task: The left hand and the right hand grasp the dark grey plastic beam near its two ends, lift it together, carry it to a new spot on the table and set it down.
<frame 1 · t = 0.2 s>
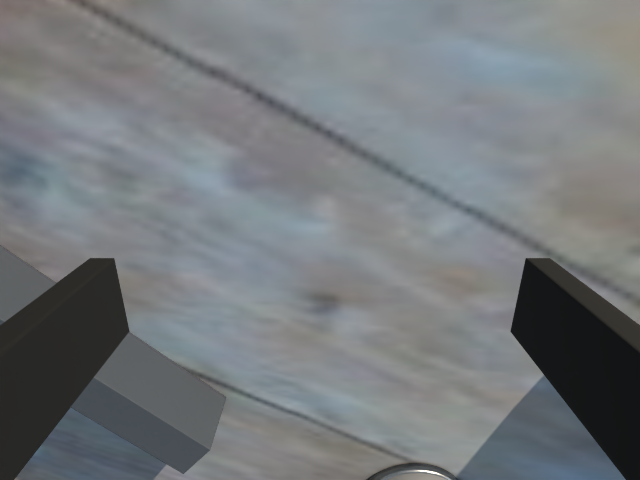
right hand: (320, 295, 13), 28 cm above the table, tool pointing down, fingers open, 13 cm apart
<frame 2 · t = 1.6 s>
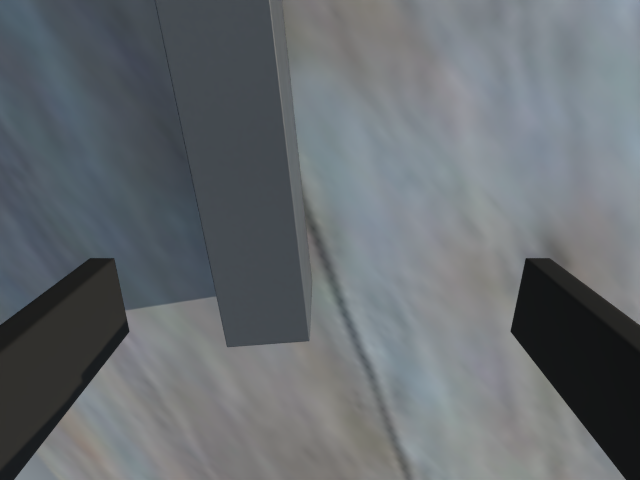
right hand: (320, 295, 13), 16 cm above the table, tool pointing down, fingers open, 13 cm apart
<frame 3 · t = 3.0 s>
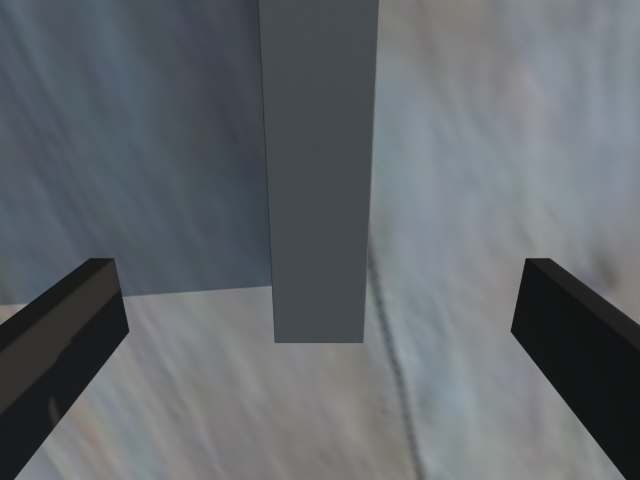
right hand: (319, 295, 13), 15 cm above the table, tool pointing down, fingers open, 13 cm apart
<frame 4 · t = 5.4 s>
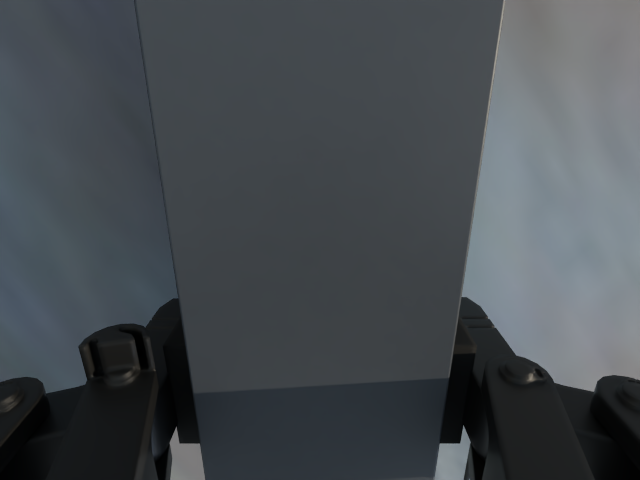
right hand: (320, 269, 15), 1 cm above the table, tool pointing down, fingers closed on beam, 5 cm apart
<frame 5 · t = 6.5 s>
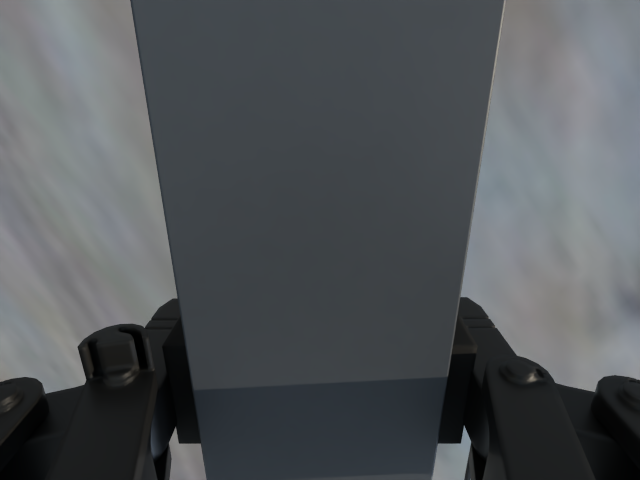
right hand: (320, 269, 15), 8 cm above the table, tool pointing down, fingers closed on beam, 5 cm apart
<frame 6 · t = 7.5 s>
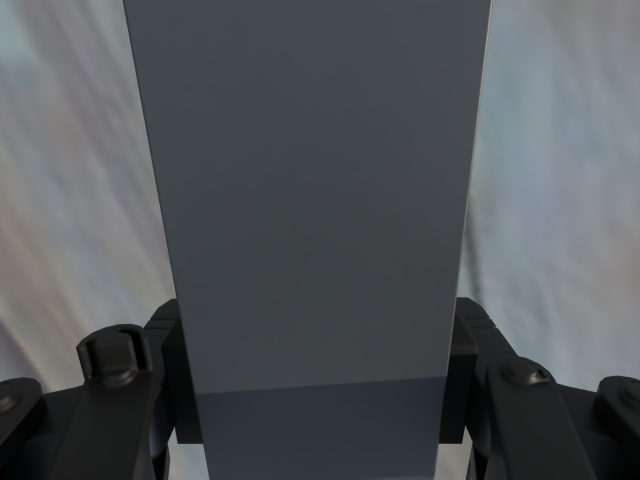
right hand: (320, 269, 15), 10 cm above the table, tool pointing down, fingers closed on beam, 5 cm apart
when the right hand's fingers open (2 cm above the table, at t = 9.8 s): beam drops 1 cm, on the table.
when the left hand's fingers open (4 cm above the table, at t = 10.0 s): beam stays where it is, on the table.
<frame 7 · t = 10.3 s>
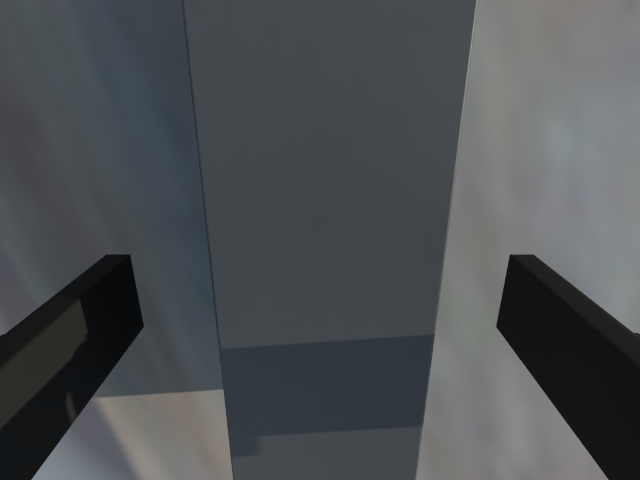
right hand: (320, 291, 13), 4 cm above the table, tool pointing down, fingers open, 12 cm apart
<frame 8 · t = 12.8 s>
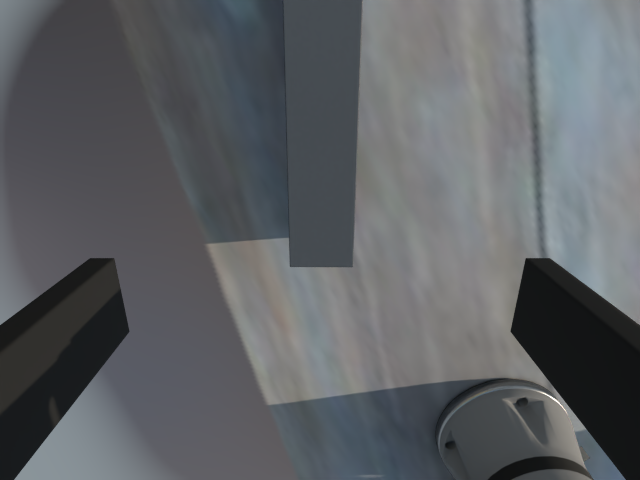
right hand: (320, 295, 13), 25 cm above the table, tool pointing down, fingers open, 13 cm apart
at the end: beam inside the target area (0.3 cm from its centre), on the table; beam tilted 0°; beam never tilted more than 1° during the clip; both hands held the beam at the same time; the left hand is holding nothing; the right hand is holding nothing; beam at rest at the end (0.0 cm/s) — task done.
